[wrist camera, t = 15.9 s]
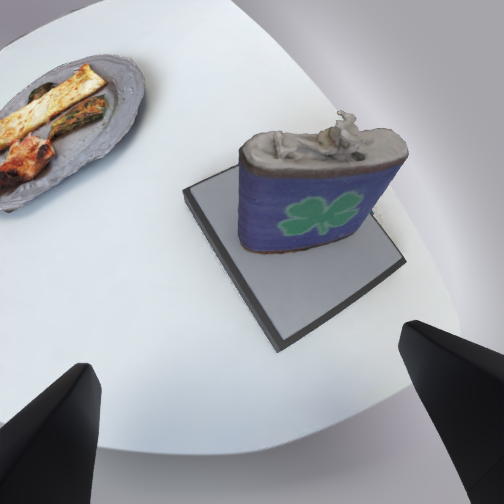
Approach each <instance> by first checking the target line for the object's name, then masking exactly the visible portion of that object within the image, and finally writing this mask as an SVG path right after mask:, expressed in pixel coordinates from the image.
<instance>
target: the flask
mask: <svg viewBox="0 0 504 504" xmlns="http://www.w3.org/2000/svg"><path fill="white" fill-rule="evenodd" d="M337 114H338V115H340V116H342V117H343V119H344V121H339V120H337V121H336V123H337V124H336V126H335V127H330V128H328V129H325V130H324V131H320V132H319V133H318V134H291V133H282V131H277V132H276V131H271V132H268V133H259V134H256V135H254V136H253V137H252V139H250V140H248V141H246V142H245V143H244V145H243V146H242V147H241V148H240V149H239V163H238V164H239V189H238V193H239V204H238V237H239V239H240V245H241V246H242V247H243V249H244V250H245V251H247V252H250V253H252V254H260V255H267V254H268V255H270V254H284V253H289V254H290V253H297V252H299V251H307V250H309V249H311V248H315V247H316V248H317V247H319V246H323V245H326V244H329V243H332V242H336V241H339V240H342V239H345V238H347V237H349V236H350V235H352V234H354V233H355V232H356V231H357V230H358V229H359V228H360V226H361V225H362V223H363V222H364V220H365V219H366V218H367V216H368V215H369V213H370V211H371V210H372V208H373V207H374V205H375V204H376V202H377V201H378V199H379V198H380V197H381V195H382V194H383V193H384V191H385V190H386V188H387V187H388V185H389V183H390V182H391V180H392V179H393V178H394V176H395V175H396V173H397V172H398V170H399V169H400V167H401V166H402V165H403V163H404V162H405V160H406V159H407V158H408V155H409V153H408V148H407V145H406V142H405V141H404V140H403V139H402V138H401V137H400V136H399V135H398V134H396V133H395V132H393V131H392V130H391V129H386V128H377V129H373V130H364V131H361V132H359V130H358V127H357V126H356V125H355V124H354V122H355V121H356V117H355V116H354V115H353V114H349V113H345V112H343V111H342V110H341V111H338V112H337Z"/></svg>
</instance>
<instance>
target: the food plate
mask: <svg viewBox="0 0 504 504" xmlns="http://www.w3.org/2000/svg"><path fill="white" fill-rule="evenodd" d="M65 64H66V65H65ZM65 64H63V65H64V66H63V65H61V66H62V67H61V66H58V67H60V68H58V67H57V68H58V69H56V68H55V69H56V70H55V69H53V70H54V71H53V70H51V71H49V72H48V73H46V74H44V75H43V76H41V77H40V78H38V79H37V80H35V81H34V82H33V83H31V84H32V85H31V84H30V85H31V86H29V85H28V86H27V87H26V89H25V88H24V89H23V91H22V92H19V93H18V94H17V95H16V96H15V97H13V98H12V99H11V100H10V101H9V102H8V103H7V104H6V105H5V106H4V107H3V109H2V110H1V111H0V211H1V210H5V212H12V211H14V210H16V209H17V208H19V207H21V205H22V204H24V203H26V202H29V201H31V200H32V199H33V198H35V197H36V196H38V195H41V193H43V192H45V191H47V190H49V189H50V188H52V187H54V186H56V185H57V184H59V183H60V182H61V180H62V179H64V178H67V177H68V176H70V175H72V174H73V173H77V171H78V170H79V169H80V168H81V167H83V166H84V165H85V164H86V163H87V162H90V161H93V159H94V158H96V157H97V158H96V159H100V158H103V157H104V156H105V155H106V154H108V153H109V152H110V150H112V149H113V148H114V146H115V145H116V144H117V143H119V141H120V140H121V139H122V137H123V136H125V135H126V133H127V132H128V131H129V129H130V128H131V126H132V125H133V123H134V119H135V117H136V115H137V113H138V111H137V110H138V107H139V105H140V102H141V100H142V98H143V96H144V91H145V89H144V86H145V85H144V81H145V80H144V78H143V75H142V72H141V71H140V70H139V68H138V67H137V66H136V64H135V63H134V62H133V61H132V59H129V58H124V57H119V56H117V55H110V54H109V55H108V54H107V55H106V54H104V55H95V56H90V57H86V58H83V59H80V60H77V61H73V62H70V63H69V62H68V64H67V63H65ZM98 156H99V157H98ZM96 159H94V160H96ZM24 205H27V204H24ZM24 205H22V206H24Z"/></svg>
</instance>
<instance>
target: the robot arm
mask: <svg viewBox="0 0 504 504" xmlns="http://www.w3.org/2000/svg"><path fill="white" fill-rule="evenodd" d="M398 348H399V352H400V355H401V357H402V359H403V361H404V364H405V366H406V368H407V371H408V373H409V375H410V378H411V380H412V383H413V385H414V387H415V389H416V391H417V393H418V395H419V397H420V399H421V401H422V403H423V405H424V406H425V408H426V410H427V412H428V414H429V416H430V418H431V420H432V422H433V423H434V426H435V427H436V429H437V431H438V433H439V435H440V437H441V439H442V441H443V443H444V445H445V447H446V449H447V451H448V453H449V455H450V457H451V460H452V462H453V464H454V466H455V468H456V470H457V472H458V474H459V477H460V479H461V481H462V483H463V485H464V488H465V490H466V492H467V495H468V497H469V500H470V502H471V504H504V355H502V354H500V353H498V352H495V351H493V350H490V349H488V348H485V347H483V346H480V345H478V344H475V343H473V342H470V341H468V340H466V339H463V338H461V337H458V336H456V335H453V334H451V333H448V332H446V331H443V330H441V329H438V328H436V327H433V326H431V325H428V324H426V323H423V322H421V321H418V320H413V321H409V322H406V323H404V325H403V327H402V331H401V336H400V340H399V344H398ZM101 393H102V388H101V384H100V382H99V380H98V378H97V376H96V374H95V372H94V369H93V367H92V366H91V365H90V364H89V363H77V364H75V365H74V366H73V367H71V368H70V369H69V370H68V371H67V372H65V373H64V374H63V375H62V376H61V377H60V378H58V379H57V380H56V381H55V382H54V383H52V384H51V385H50V386H49V387H48V388H47V389H45V390H44V391H43V392H42V393H41V394H39V395H38V396H37V397H36V398H35V399H34V400H32V401H31V402H30V403H29V404H28V405H27V406H25V407H24V408H23V409H22V410H21V411H20V412H19V413H17V414H16V415H15V416H14V417H13V418H12V419H10V420H9V421H8V422H7V423H6V424H5V425H4V426H2V427H1V428H0V504H90V499H91V489H92V479H93V471H94V463H95V456H96V449H97V443H98V435H99V420H100V405H101Z"/></svg>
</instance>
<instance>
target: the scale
mask: <svg viewBox="0 0 504 504" xmlns="http://www.w3.org/2000/svg"><path fill="white" fill-rule="evenodd" d="M238 189H239V164H238V165H236V166H233V167H231V168H229V169H227V170H224V171H222V172H220V173H218V174H216V175H213V176H211V177H209V178H207V179H205V180H203V181H200V182H198V183H196V184H194V185H192V186H190V187H188V188H186V189H184V190H182V191H183V195H184V199H185V202H186V204H187V206H188V207H189V209H190V211H191V213H192V214H193V216H194V218H195V219H196V221H197V223H198V225H199V226H200V228H201V230H202V231H203V233H204V235H205V236H206V238H207V240H208V241H209V243H210V245H211V247H212V248H213V250H214V252H215V253H216V255H217V257H218V258H219V260H220V262H221V263H222V265H223V266H224V268H225V270H226V271H227V273H228V275H229V276H230V278H231V280H232V281H233V283H234V285H235V286H236V288H237V289H238V291H239V293H240V294H241V296H242V298H243V299H244V301H245V302H246V304H247V306H248V307H249V309H250V310H251V312H252V314H253V315H254V317H255V318H256V320H257V322H258V323H259V325H260V326H261V328H262V330H263V331H264V333H265V334H266V336H267V338H268V339H269V341H270V342H271V344H272V345H273V347H274V349H275V350H276V352H277V353H278V352H280V351H282V350H283V349H285V348H287V347H288V346H290V345H291V344H293V343H294V342H296V341H298V340H299V339H301V338H302V337H304V336H305V335H307V334H308V333H310V332H311V331H313V330H314V329H316V328H317V327H319V326H320V325H322V324H323V323H325V322H326V321H328V320H329V319H331V318H332V317H334V316H335V315H336V314H338V313H339V312H341V311H342V310H344V309H345V308H346V307H348V306H349V305H351V304H352V303H353V302H355V301H356V300H358V299H359V298H360V297H362V296H363V295H365V294H366V293H367V292H369V291H370V290H371V289H373V288H374V287H375V286H377V285H378V284H379V283H381V282H382V281H383V280H385V279H386V278H387V277H388V276H390V275H391V274H392V273H394V272H395V271H396V270H397V269H399V268H400V267H401V266H402V265H404V264H405V263H406V262H407V261H406V260H405V258H404V257H403V255H402V254H401V253H400V251H399V250H398V248H397V247H396V246H395V244H394V243H393V241H392V240H391V239H390V237H389V236H388V235H387V233H386V232H385V231H384V229H383V228H382V227H381V226H380V224H379V223H378V222H377V220H376V219H375V218H374V216H373V214H374V213H373V211H372V210H371V211H370V213H369V215H368V216H367V218H366V219H365V220H364V222H363V223H362V225H361V226H360V228H359V229H358V230H357V231H356V232H355V233H354V234H352V235H350V236H349V237H347V238H345V239H342V240H339V241H336V242H332V243H329V244H326V245H323V246H319V247H317V248H316V247H315V248H311V249H309V250H307V251H299V252H297V253H290V254H289V253H284V254H270V255H268V254H267V255H260V254H252V253H250V252H247V251H245V250H244V249H243V247H242V246H241V245H240V239H239V237H238V204H239V193H238Z"/></svg>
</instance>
